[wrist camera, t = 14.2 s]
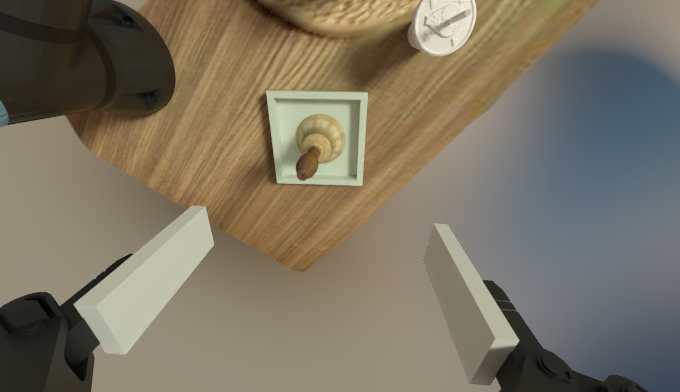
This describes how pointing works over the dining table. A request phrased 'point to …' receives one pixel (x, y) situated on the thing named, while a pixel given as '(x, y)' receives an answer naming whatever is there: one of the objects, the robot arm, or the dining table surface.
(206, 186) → the dining table surface
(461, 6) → the smoothie
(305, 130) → the hand bell
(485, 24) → the dining table surface
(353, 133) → the tray
